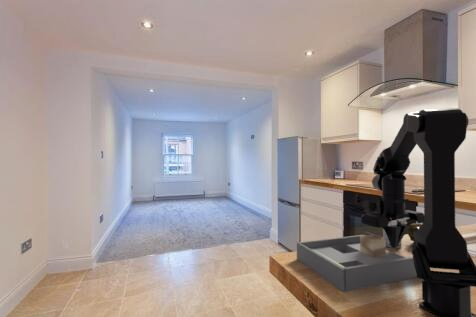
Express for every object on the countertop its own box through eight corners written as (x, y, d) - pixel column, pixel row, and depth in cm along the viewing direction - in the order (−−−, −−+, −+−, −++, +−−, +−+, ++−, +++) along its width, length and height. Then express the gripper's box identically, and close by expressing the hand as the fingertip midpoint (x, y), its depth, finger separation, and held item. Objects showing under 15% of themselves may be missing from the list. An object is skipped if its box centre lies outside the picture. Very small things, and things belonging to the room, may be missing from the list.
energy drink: (405, 247, 83) (404, 212, 83) (392, 248, 82) (391, 213, 82) (392, 242, 88) (391, 209, 89) (379, 243, 87) (379, 210, 87)
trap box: (424, 275, 62) (424, 256, 63) (343, 292, 55) (342, 269, 55) (363, 249, 81) (363, 234, 81) (296, 259, 74) (296, 242, 74)
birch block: (385, 255, 68) (385, 239, 69) (373, 257, 67) (372, 240, 67) (372, 249, 73) (372, 234, 73) (360, 251, 71) (360, 236, 71)
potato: (446, 246, 84) (446, 223, 84) (423, 252, 79) (423, 227, 79) (420, 239, 92) (419, 218, 92) (397, 244, 86) (397, 221, 87)
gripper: (392, 190, 83) (393, 236, 83) (347, 192, 77) (348, 242, 77) (426, 194, 72) (427, 247, 72) (377, 197, 67) (378, 254, 67)
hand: (394, 247), depth 72 cm, fingers closed
